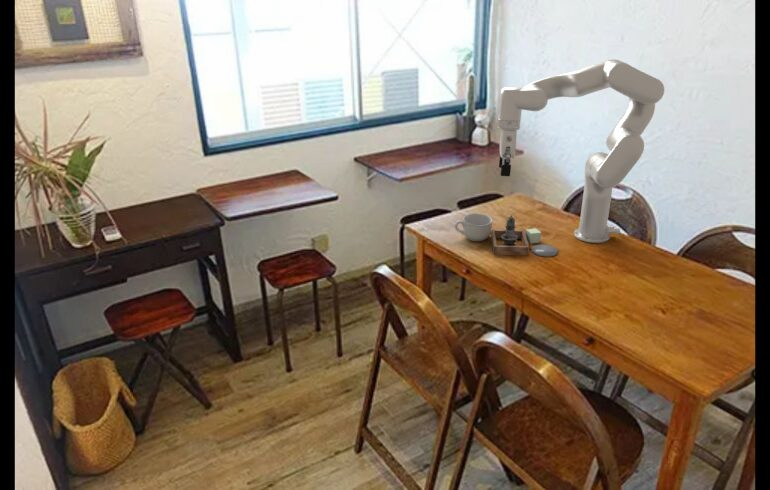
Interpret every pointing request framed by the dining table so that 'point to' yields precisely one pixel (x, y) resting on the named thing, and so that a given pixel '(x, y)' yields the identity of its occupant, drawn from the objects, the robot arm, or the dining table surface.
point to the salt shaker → (509, 233)
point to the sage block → (533, 235)
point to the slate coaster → (544, 250)
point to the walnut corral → (510, 249)
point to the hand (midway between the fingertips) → (504, 171)
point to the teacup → (475, 226)
